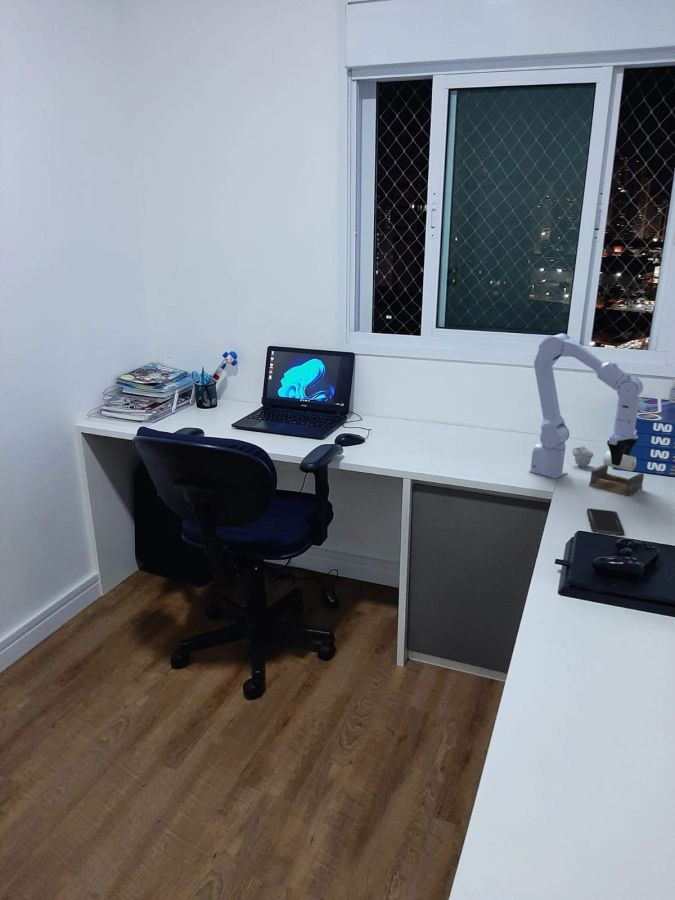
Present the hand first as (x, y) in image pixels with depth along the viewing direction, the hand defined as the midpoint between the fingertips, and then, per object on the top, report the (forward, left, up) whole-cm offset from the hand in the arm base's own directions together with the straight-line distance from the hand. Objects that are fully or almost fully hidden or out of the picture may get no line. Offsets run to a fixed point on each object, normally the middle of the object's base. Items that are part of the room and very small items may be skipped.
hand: (619, 463), depth 200 cm
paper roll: (0, 0, +1) cm, 1 cm away
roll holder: (0, 0, -8) cm, 8 cm away
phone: (+10, -29, -8) cm, 32 cm away
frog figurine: (-17, +12, -8) cm, 22 cm away
